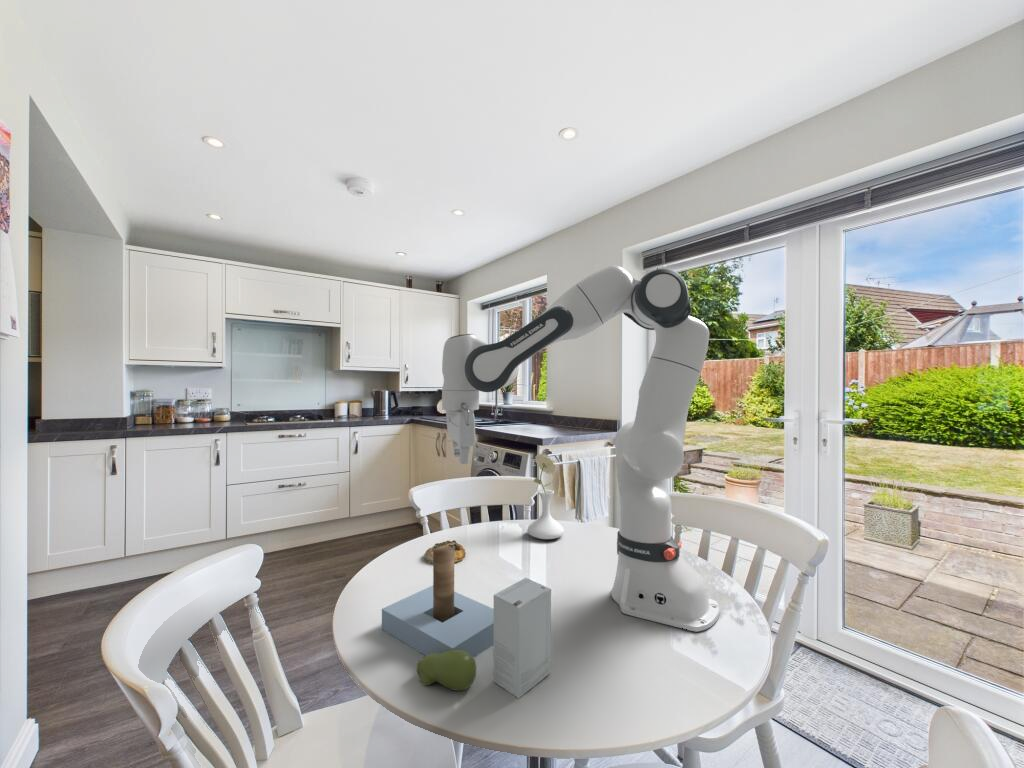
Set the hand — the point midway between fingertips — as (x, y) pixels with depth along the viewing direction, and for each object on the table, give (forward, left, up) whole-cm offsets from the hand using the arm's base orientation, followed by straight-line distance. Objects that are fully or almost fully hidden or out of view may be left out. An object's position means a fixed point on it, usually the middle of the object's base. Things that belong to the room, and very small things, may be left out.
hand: (460, 459), depth 111 cm
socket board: (-14, +18, -29) cm, 37 cm away
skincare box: (-34, +19, -29) cm, 49 cm away
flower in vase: (+2, -38, -29) cm, 48 cm away
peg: (-14, +18, -29) cm, 37 cm away
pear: (-25, +27, -30) cm, 47 cm away
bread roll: (+13, -7, -30) cm, 33 cm away
